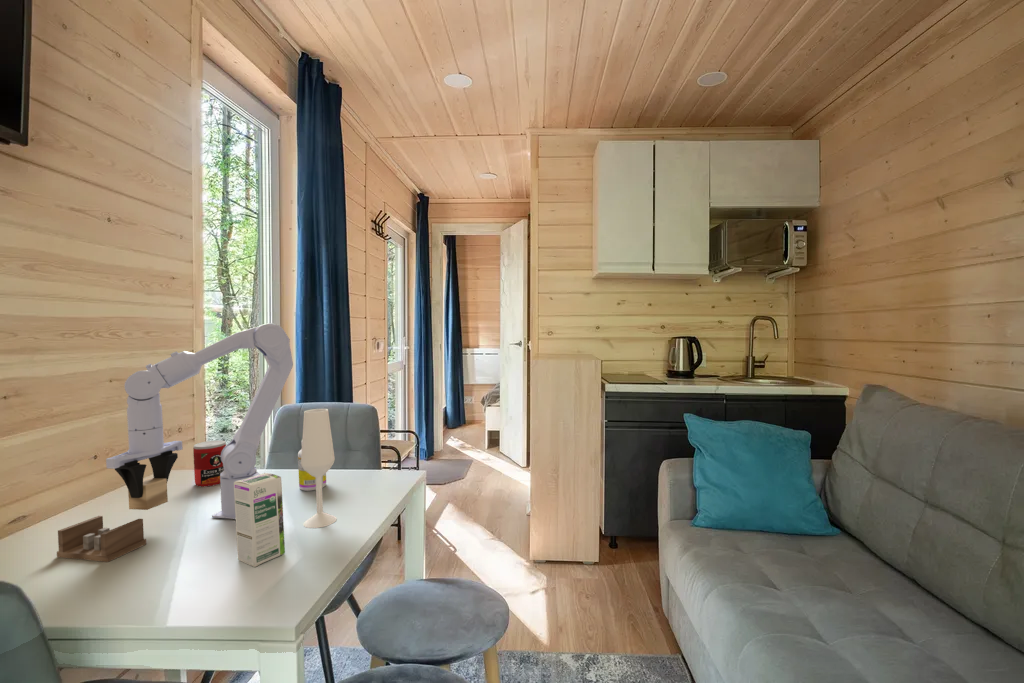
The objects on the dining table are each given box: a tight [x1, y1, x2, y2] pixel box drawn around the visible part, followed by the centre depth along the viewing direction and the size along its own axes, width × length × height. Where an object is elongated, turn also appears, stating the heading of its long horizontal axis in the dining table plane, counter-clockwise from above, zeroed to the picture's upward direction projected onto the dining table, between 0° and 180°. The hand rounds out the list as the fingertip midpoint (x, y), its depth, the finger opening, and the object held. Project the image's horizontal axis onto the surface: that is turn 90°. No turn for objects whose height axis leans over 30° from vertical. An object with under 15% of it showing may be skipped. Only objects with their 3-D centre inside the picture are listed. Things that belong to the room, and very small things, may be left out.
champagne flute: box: [301, 408, 337, 529], centre depth 99 cm, size 7×7×24 cm
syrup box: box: [234, 472, 286, 568], centre depth 83 cm, size 6×6×14 cm
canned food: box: [192, 439, 227, 488], centre depth 128 cm, size 8×8×11 cm
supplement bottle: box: [297, 439, 327, 492], centre depth 122 cm, size 7×7×13 cm
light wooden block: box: [127, 477, 169, 511], centre depth 96 cm, size 4×4×5 cm
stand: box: [56, 515, 147, 563], centre depth 88 cm, size 12×7×5 cm, turn 78°
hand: (149, 492), depth 96 cm, fingers closed on light wooden block, 4 cm apart
